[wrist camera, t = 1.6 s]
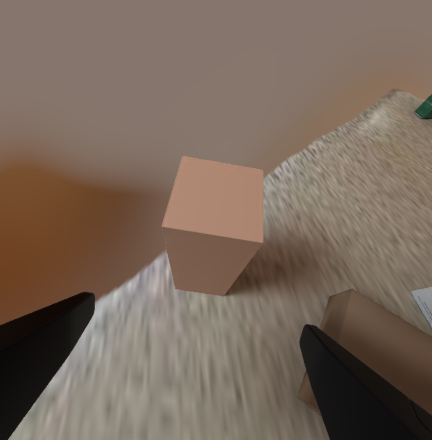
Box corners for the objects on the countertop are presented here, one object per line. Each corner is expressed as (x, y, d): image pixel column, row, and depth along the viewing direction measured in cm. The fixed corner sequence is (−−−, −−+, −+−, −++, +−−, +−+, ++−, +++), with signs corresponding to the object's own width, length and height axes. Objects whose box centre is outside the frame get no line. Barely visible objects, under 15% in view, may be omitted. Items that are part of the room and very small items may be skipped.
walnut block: (414, 487, 16) (475, 526, 12) (295, 396, 18) (321, 409, 14) (421, 356, 21) (467, 358, 17) (327, 297, 23) (352, 288, 19)
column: (223, 296, 21) (263, 242, 10) (175, 288, 21) (161, 226, 10) (228, 251, 24) (263, 170, 13) (185, 244, 24) (182, 155, 12)
